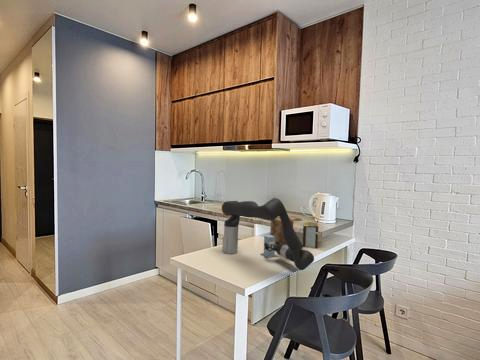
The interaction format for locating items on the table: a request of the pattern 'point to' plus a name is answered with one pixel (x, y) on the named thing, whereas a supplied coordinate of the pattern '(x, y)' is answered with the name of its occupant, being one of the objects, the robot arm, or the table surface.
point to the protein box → (310, 234)
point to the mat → (268, 256)
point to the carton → (270, 240)
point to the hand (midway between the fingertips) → (270, 243)
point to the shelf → (280, 228)
